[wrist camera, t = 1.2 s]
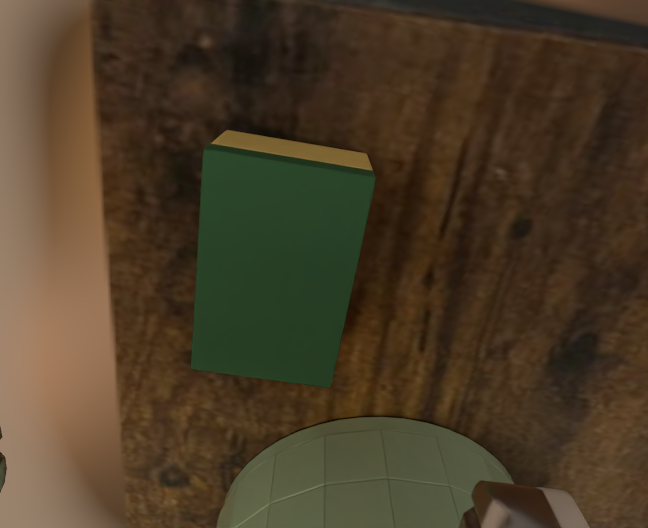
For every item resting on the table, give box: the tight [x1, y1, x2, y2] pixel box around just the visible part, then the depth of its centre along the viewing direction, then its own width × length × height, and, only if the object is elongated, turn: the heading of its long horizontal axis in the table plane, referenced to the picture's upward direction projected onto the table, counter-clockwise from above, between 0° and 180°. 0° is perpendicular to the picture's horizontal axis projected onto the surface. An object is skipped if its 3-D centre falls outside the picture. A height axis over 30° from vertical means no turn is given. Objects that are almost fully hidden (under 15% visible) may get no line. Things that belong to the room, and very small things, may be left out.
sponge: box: [191, 130, 376, 388], centre depth 15 cm, size 7×4×3 cm, turn 171°
